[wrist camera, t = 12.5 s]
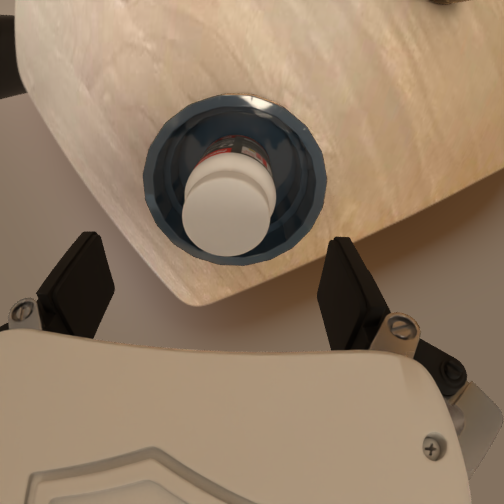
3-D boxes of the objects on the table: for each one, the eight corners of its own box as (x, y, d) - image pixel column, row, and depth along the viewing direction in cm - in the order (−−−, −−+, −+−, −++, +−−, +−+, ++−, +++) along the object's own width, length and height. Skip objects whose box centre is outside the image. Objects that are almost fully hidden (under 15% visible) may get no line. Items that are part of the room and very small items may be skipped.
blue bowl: (171, 226, 27) (154, 262, 22) (164, 95, 20) (137, 99, 15) (300, 231, 27) (311, 268, 22) (316, 99, 20) (337, 103, 15)
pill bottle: (227, 120, 21) (210, 144, 12) (283, 159, 23) (304, 208, 14) (189, 175, 23) (155, 231, 15) (243, 209, 25) (239, 280, 17)
